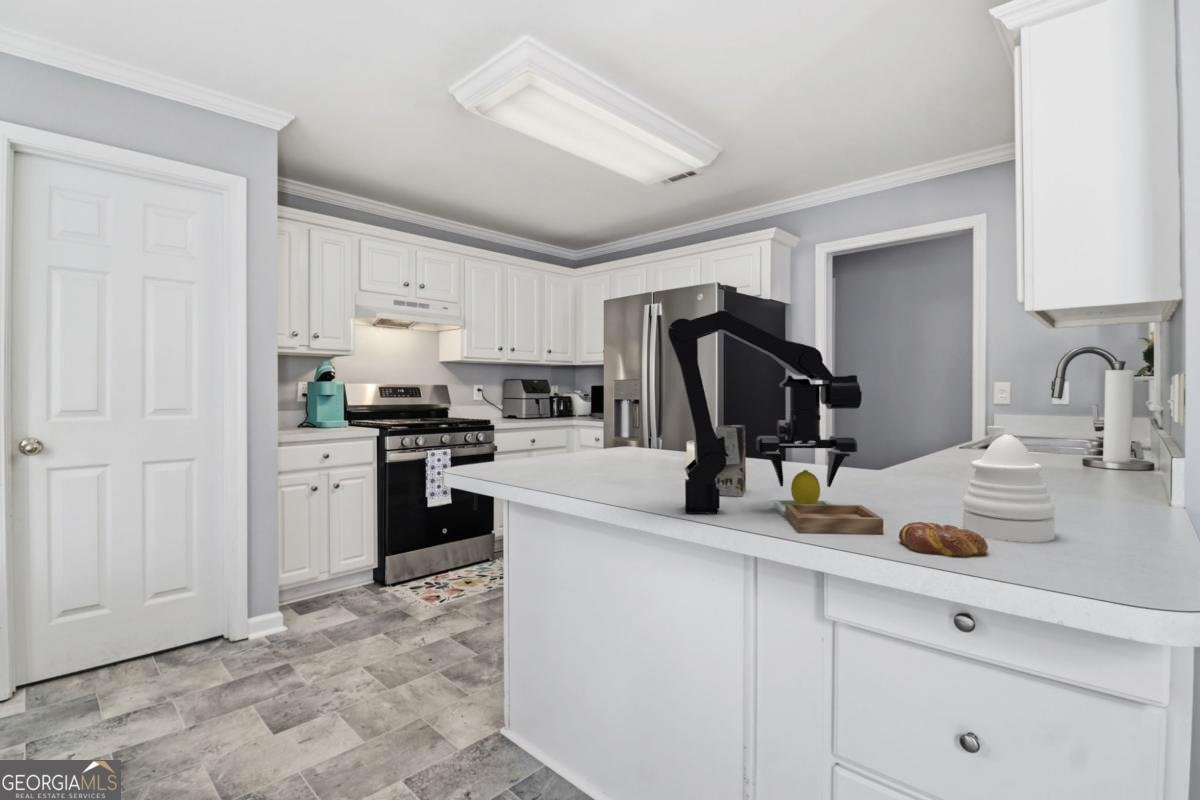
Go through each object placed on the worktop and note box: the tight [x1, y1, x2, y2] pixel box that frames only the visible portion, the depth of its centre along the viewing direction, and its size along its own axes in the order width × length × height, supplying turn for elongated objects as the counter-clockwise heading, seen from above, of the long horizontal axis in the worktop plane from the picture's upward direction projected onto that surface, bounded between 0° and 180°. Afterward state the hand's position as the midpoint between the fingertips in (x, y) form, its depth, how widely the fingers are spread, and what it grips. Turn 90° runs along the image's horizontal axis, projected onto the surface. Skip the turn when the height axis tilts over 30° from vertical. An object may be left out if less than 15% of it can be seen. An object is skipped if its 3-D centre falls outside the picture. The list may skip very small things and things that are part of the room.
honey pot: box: [962, 425, 1056, 543], centre depth 100 cm, size 13×13×18 cm
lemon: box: [790, 469, 821, 504], centre depth 119 cm, size 6×6×8 cm
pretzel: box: [898, 521, 989, 558], centre depth 91 cm, size 12×11×4 cm
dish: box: [772, 499, 833, 518], centre depth 119 cm, size 11×11×1 cm
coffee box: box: [715, 424, 747, 497], centre depth 140 cm, size 9×6×16 cm
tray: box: [785, 504, 884, 535], centre depth 107 cm, size 14×12×3 cm
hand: (805, 486), depth 119 cm, fingers open, 9 cm apart
